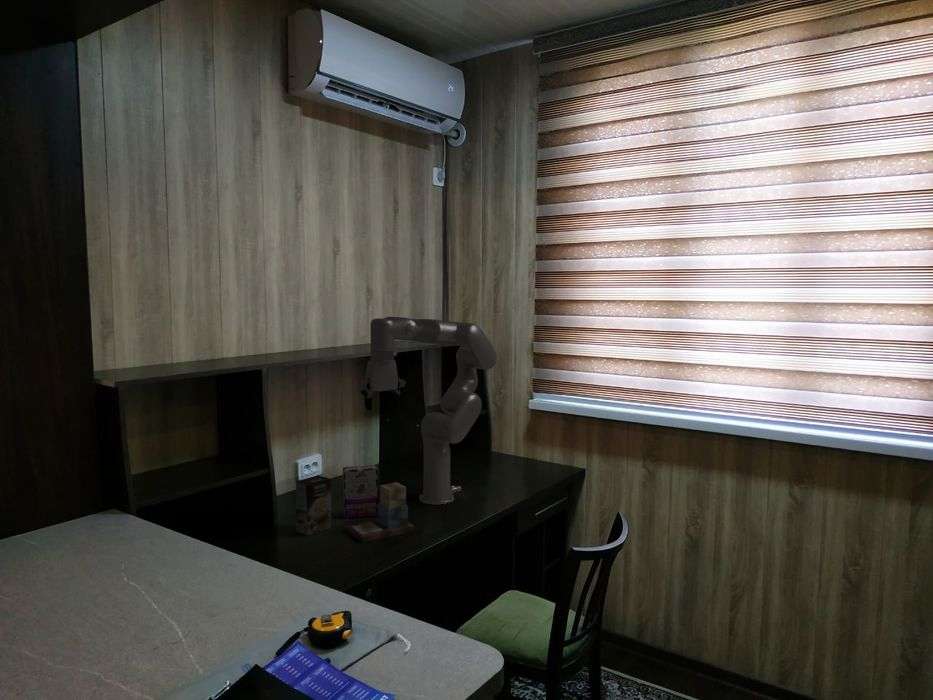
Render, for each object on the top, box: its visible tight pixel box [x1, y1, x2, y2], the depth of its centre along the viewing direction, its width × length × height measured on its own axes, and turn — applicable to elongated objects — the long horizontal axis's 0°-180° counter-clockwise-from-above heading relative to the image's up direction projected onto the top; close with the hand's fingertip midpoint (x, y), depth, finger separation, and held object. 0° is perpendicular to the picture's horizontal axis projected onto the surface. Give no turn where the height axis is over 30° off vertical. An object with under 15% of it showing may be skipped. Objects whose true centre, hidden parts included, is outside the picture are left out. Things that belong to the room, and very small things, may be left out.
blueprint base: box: [344, 502, 416, 544], centre depth 211 cm, size 18×12×8 cm, turn 125°
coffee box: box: [295, 475, 332, 536], centre depth 210 cm, size 9×6×16 cm
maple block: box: [379, 481, 407, 509], centre depth 212 cm, size 6×6×6 cm
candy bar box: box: [342, 464, 379, 520], centre depth 224 cm, size 11×5×16 cm, turn 105°
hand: (382, 408), depth 221 cm, fingers open, 9 cm apart
